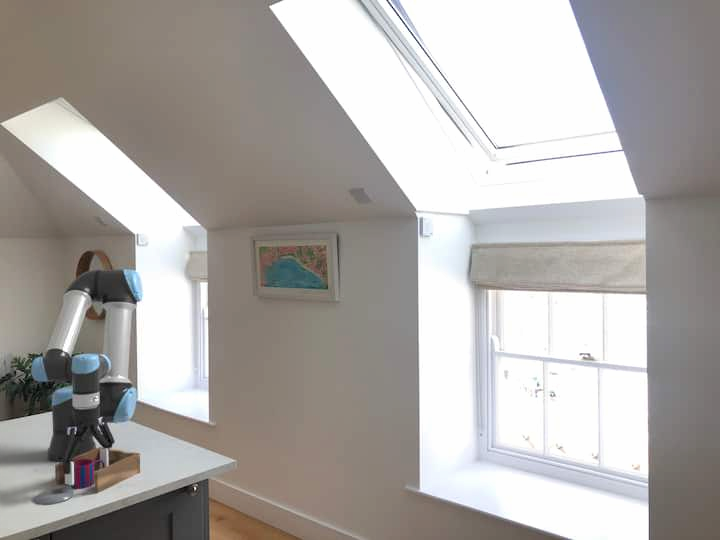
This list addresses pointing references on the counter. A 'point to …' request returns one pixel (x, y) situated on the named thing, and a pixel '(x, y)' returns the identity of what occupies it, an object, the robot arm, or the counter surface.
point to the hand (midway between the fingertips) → (87, 476)
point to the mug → (84, 473)
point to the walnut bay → (106, 468)
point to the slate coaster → (54, 496)
